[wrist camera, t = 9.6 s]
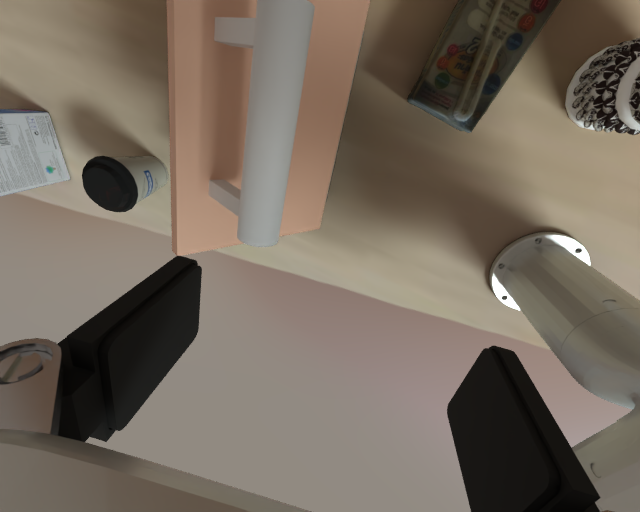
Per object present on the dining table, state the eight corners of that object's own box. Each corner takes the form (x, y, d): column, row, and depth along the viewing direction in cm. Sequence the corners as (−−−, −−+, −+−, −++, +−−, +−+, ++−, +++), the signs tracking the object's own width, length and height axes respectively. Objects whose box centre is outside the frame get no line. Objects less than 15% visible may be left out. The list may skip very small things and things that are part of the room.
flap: (361, 1, 26) (452, -1, 21) (313, 225, 36) (369, 258, 31) (163, -122, 15) (261, -184, 10) (172, 250, 25) (224, 308, 20)
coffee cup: (124, 174, 46) (66, 191, 37) (141, 136, 43) (83, 144, 34) (164, 204, 47) (117, 226, 38) (183, 169, 44) (138, 184, 35)
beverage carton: (401, 101, 37) (409, 100, 31) (512, -106, 29) (550, -161, 23) (457, 131, 38) (475, 136, 32) (582, -62, 29) (637, -105, 23)
